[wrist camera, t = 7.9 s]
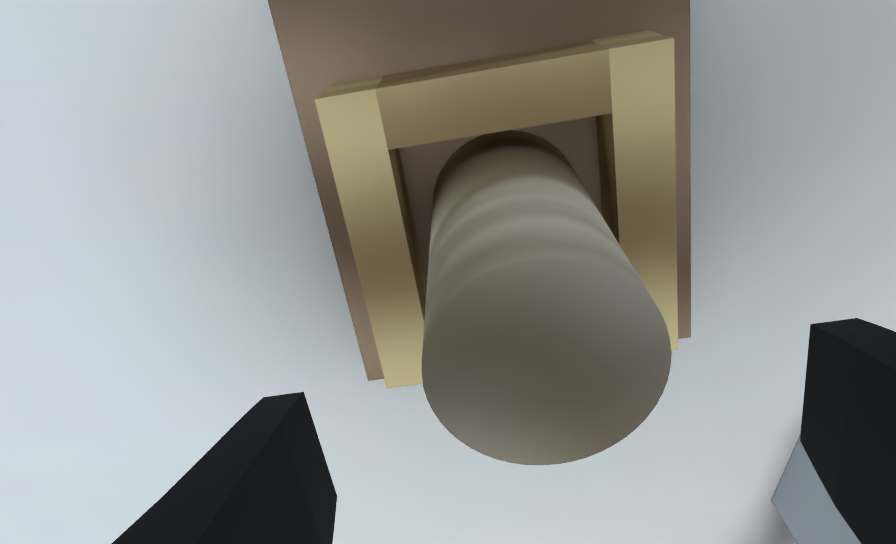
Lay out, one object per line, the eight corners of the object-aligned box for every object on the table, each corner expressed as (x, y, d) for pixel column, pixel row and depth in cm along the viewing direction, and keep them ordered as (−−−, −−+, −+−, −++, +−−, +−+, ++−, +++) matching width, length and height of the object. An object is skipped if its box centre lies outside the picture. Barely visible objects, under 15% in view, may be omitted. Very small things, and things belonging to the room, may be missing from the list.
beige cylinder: (492, 99, 16) (526, 205, 9) (609, 186, 17) (724, 345, 10) (404, 218, 18) (373, 392, 10) (517, 293, 19) (560, 499, 11)
